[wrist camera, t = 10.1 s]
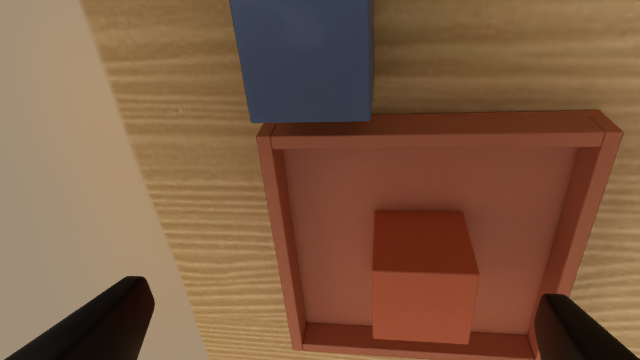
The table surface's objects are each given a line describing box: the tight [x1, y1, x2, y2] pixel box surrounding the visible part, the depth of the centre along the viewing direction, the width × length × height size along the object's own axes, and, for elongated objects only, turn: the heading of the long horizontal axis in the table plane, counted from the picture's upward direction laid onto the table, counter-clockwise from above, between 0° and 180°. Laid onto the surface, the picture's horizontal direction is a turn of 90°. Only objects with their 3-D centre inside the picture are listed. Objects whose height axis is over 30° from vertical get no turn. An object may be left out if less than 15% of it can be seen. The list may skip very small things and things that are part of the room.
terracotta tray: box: [256, 110, 623, 360], centre depth 20 cm, size 13×13×2 cm
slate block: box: [229, 0, 374, 123], centre depth 14 cm, size 4×4×4 cm
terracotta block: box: [372, 211, 480, 344], centre depth 18 cm, size 4×4×4 cm
